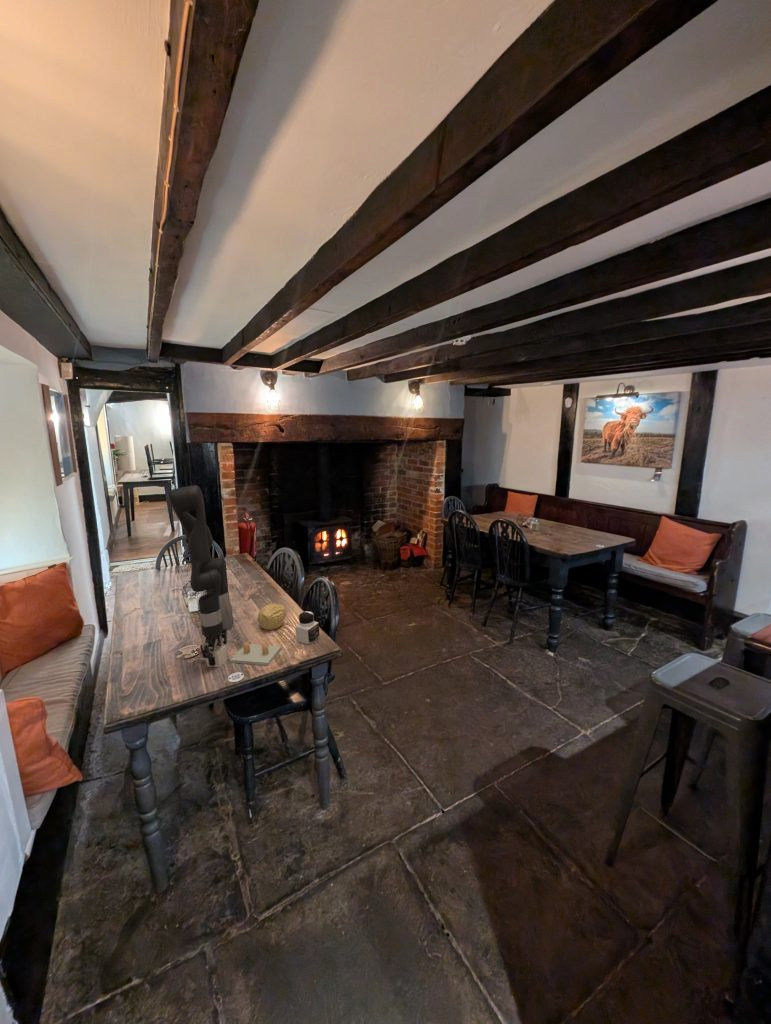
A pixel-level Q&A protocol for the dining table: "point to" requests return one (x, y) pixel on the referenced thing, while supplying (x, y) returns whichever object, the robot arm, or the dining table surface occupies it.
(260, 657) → the board
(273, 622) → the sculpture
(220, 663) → the beige block
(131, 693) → the dining table surface
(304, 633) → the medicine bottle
